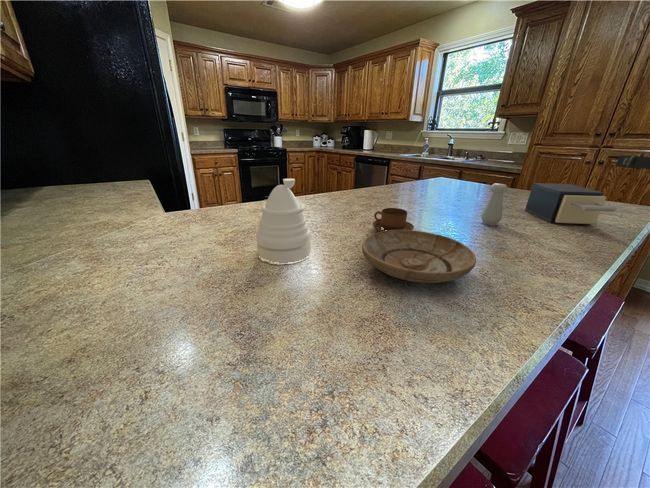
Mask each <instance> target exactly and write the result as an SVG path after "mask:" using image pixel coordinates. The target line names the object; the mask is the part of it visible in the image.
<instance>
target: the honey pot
mask: <svg viewBox="0 0 650 488" xmlns="http://www.w3.org/2000/svg"><path fill="white" fill-rule="evenodd" d="M282 181H283V184H278V185H276V186H275V187H274V188H273V189H272V190H271V192H270V193H269V195H268V197H267V199H266V202H265V203H264V204H263V205H262V206H261V208H260V209H261V211H262V214H261V218H260V219H259V225H258V228H257V229H258V230H257V232H256V248H257V255H258V254H259V256H260V257H262V258H264V259H266V260H269V261H272V262H279V263H288V262H295V261H299V260H302V259H304V258H306V257H307V256H309V254H310V252H311V253H312V240H311V231H310V229H309V226H308V223H307V219H306V218H305V216H304V211H305V210H306V206H305V204H304V203H302V202H300V201H298V199H297V198H296V196H295V194H294V193H293V191H292V190H291V189H292V188H293V187H294V186H295V183H296V179H295V178H283V179H282ZM310 255H311V254H310ZM309 257H310V256H309Z"/></svg>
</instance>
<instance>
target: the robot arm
mask: <svg viewBox="0 0 650 488" xmlns="http://www.w3.org/2000/svg"><path fill="white" fill-rule="evenodd" d="M645 155H646V154H645V153H643V152H642V153H639V155H623V154H621V155H619V157H618V159H617V161H616V163H615V165H614V167H617V168H628V169H636V170H637V169H638V170H641V169H642V170H643V169H644V170H650V156H645Z"/></svg>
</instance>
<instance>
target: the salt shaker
mask: <svg viewBox="0 0 650 488" xmlns="http://www.w3.org/2000/svg"><path fill="white" fill-rule="evenodd" d="M490 191H491V193H490V196H489V197H488V199H487V202H486V204H485V206H484V208H483V211H482V213H481V215H480V217H481V222H482V224H483V225H485V226H491V227H494V226H497V225H498V224H499V223H500V222H501V221H502V218H503V205H504V204H503V203H504V194H505V193H506V192H507V191H508V185H507V184H504V183H498V182H497V183H493V184H491V186H490Z"/></svg>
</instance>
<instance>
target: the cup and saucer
mask: <svg viewBox="0 0 650 488" xmlns="http://www.w3.org/2000/svg"><path fill="white" fill-rule="evenodd" d="M378 214H379V215H381V217H380V218H378V217H377V215H378ZM373 218H374V221H373V222H372V227H373V228H374V229H375V230H376V231H378V232H382V231H385V230H387V231H388V230H414V228H415V226H414V225H413V224H412V223H411V222H409V221H407V219H408V211H407V210H405V209H404V208H398V207H386V208H383V209H382V210H381V211H379V210H378V211H376V212H374V215H373ZM381 227H383V228H384V230H381Z"/></svg>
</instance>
